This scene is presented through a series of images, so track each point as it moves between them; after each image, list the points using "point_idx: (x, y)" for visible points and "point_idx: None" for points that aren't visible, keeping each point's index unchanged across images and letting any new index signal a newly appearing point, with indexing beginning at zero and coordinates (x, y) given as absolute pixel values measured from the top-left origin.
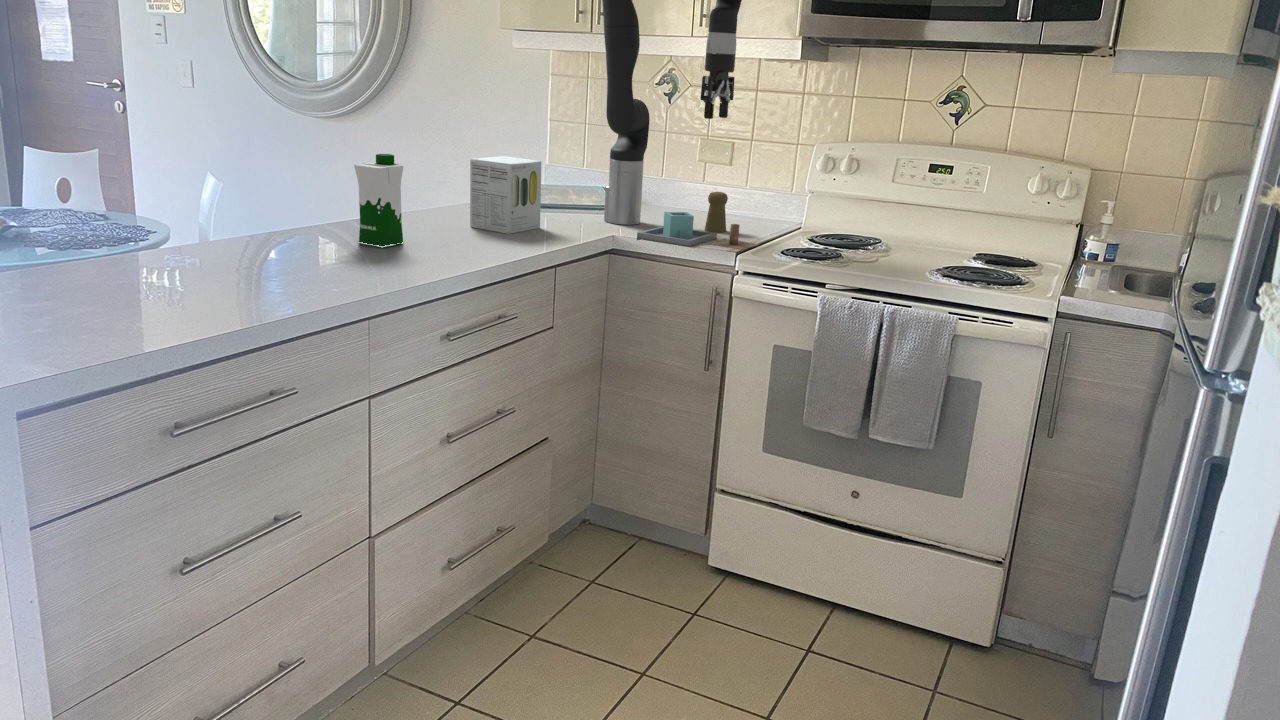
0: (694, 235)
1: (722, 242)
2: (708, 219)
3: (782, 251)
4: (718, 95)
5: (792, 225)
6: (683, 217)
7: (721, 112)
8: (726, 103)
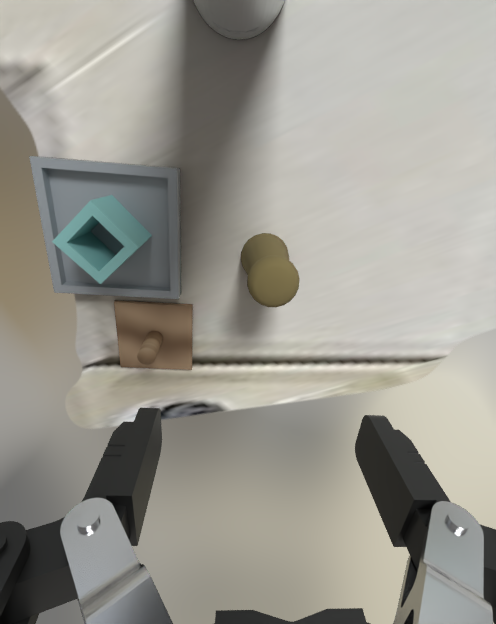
0: (167, 251)
1: (152, 318)
2: (249, 254)
3: (182, 403)
4: (421, 572)
5: (455, 341)
6: (80, 265)
7: (374, 450)
8: (395, 540)
